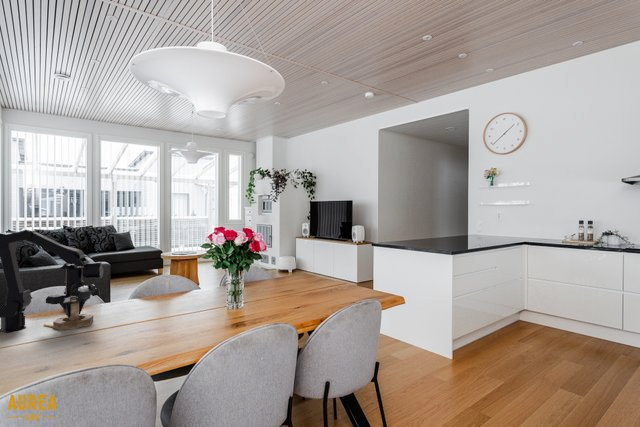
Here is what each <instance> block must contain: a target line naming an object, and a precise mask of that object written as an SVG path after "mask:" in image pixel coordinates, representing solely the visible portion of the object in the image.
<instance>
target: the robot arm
mask: <svg viewBox="0 0 640 427" xmlns="http://www.w3.org/2000/svg"><path fill="white" fill-rule="evenodd" d="M24 241H28V242H30V243H33V244H35V245H36V246H39V247H41V248H43V249H45V250H48V251H49V252H51V253H53V254H54V255H56V256H57V257H59V259H61V260H62V261H63V262H64V264H63V265H61V267H59V270H65V281H64V282H63V285H65V288H66V291H65V290H64V291H63V295H62V294H52V295H48V296H47V297H46V298H45V304H50V305H60V307H61V308H62V309H63V311H64V313H65V315H66V316H68V317H70V315H71V307H70V305H71V303H72V301H70V298H75V297H76V300H77V302H79V314H82V310H83V308H84V305H85V304H86V302H87V301H88V300H89V299H91V296H92V297H95V296H100V289H99V288H96V285H95V284H94V283H93V284H89V285H86V284H85V281H84V280H83V278H85V279H102V278H103V275H104V267H103V262H101V261H97V262H90V261H89V260H88V259H87V258H86V257H85V254H84V252H83V250H81V249H78V248H75V247H73V246H72V247H71V246H68V245H67V246H66V245H64V244H61V243H60V242H58V241H56V240H53V239H51V238H49V237H47V236H45V235H43V234H41V233H39V232H37V231H36V230H34V229H26V230H23V231H18V232H13V233H12V232H1V233H0V262H1V265H2V266H1V267H2V271H3V276H4V278H5V283H6V284H5V285H6V289H7V293H6V295H5V296H6V297H5V306H4V307H3V308H2V309H0V332H3V333H11V332H14V331H15V332H16V331H19V330H24V329H26V328H27V326H25V325H26V316H25V313H24V312H25V311H26V309H27V307H29V306H30V304H31V302H32V299H33V297H32V294H31V293H32V292H31V289H27V290H26V289H25V287H24V286H23V282H22V278H21V274H20V269H19V263H18V261H17V260H18V259H17V256H16V252H17V248H18V242H24Z"/></svg>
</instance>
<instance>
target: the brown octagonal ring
mask: <svg viewBox="0 0 640 427" xmlns="http://www.w3.org/2000/svg"><path fill="white" fill-rule="evenodd" d="M93 322H94V315H93V314H88V313H80V314H79V320H77V321H69V317H68V316H67V315H66V316H61V317H58V318H56V319H55V320H54V321H53V323H52V326H53V327H52V329H55V330H59V331H60V330H61V331H65V330H71V329H72V330H73V329H74V330H76V329H80V328H83V327H87V326H90V325H91V324H92V323H93Z"/></svg>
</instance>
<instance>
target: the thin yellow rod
mask: <svg viewBox="0 0 640 427" xmlns="http://www.w3.org/2000/svg"><path fill="white" fill-rule="evenodd" d="M43 326H44V327H49V328H53V324H47V323H44V324H43Z"/></svg>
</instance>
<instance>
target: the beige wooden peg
mask: <svg viewBox="0 0 640 427" xmlns="http://www.w3.org/2000/svg"><path fill="white" fill-rule="evenodd" d="M70 307H71V315H70V317H69V321H77V320H79V302H77V300H74V301H72V303H71V305H70Z"/></svg>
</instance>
